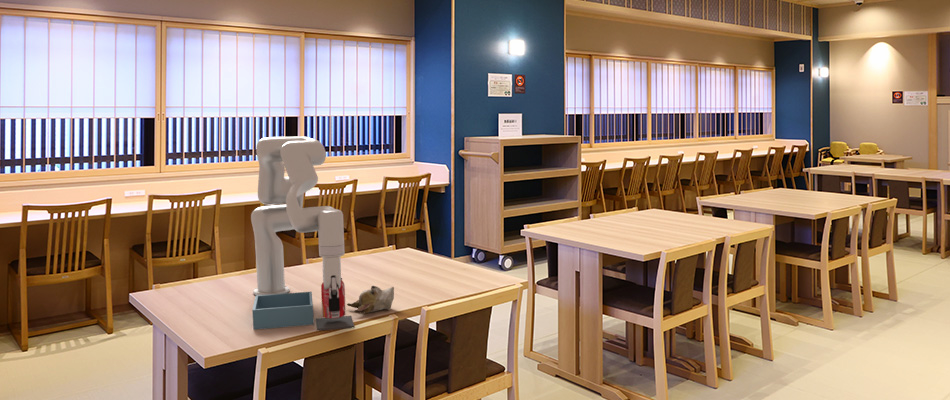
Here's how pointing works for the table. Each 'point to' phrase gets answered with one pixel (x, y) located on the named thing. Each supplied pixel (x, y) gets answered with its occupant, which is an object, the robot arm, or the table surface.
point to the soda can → (325, 303)
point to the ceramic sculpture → (374, 300)
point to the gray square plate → (334, 323)
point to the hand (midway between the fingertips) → (333, 307)
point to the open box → (282, 310)
